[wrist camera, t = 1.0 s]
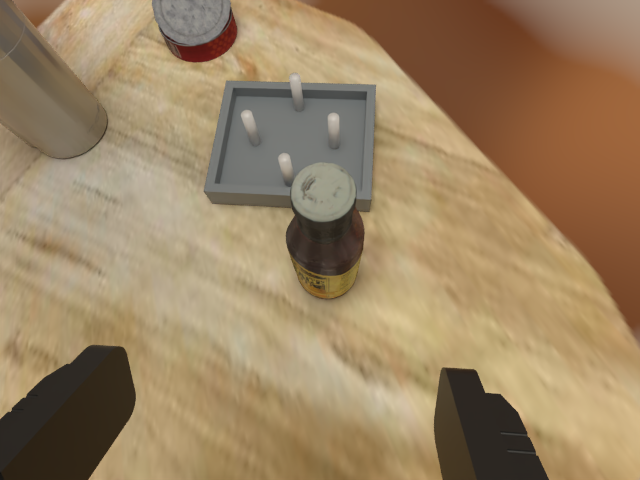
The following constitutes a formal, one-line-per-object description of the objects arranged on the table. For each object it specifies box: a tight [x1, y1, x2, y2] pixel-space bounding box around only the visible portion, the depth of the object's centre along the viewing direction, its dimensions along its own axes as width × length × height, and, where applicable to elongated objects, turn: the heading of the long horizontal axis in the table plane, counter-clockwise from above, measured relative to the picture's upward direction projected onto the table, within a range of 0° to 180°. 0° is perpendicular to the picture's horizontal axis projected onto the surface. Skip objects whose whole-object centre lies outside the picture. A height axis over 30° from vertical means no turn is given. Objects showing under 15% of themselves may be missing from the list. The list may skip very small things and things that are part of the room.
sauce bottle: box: [286, 162, 364, 298], centre depth 33 cm, size 7×6×20 cm
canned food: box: [152, 0, 237, 62], centre depth 53 cm, size 11×10×10 cm
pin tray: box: [204, 73, 376, 212], centre depth 45 cm, size 18×15×6 cm
